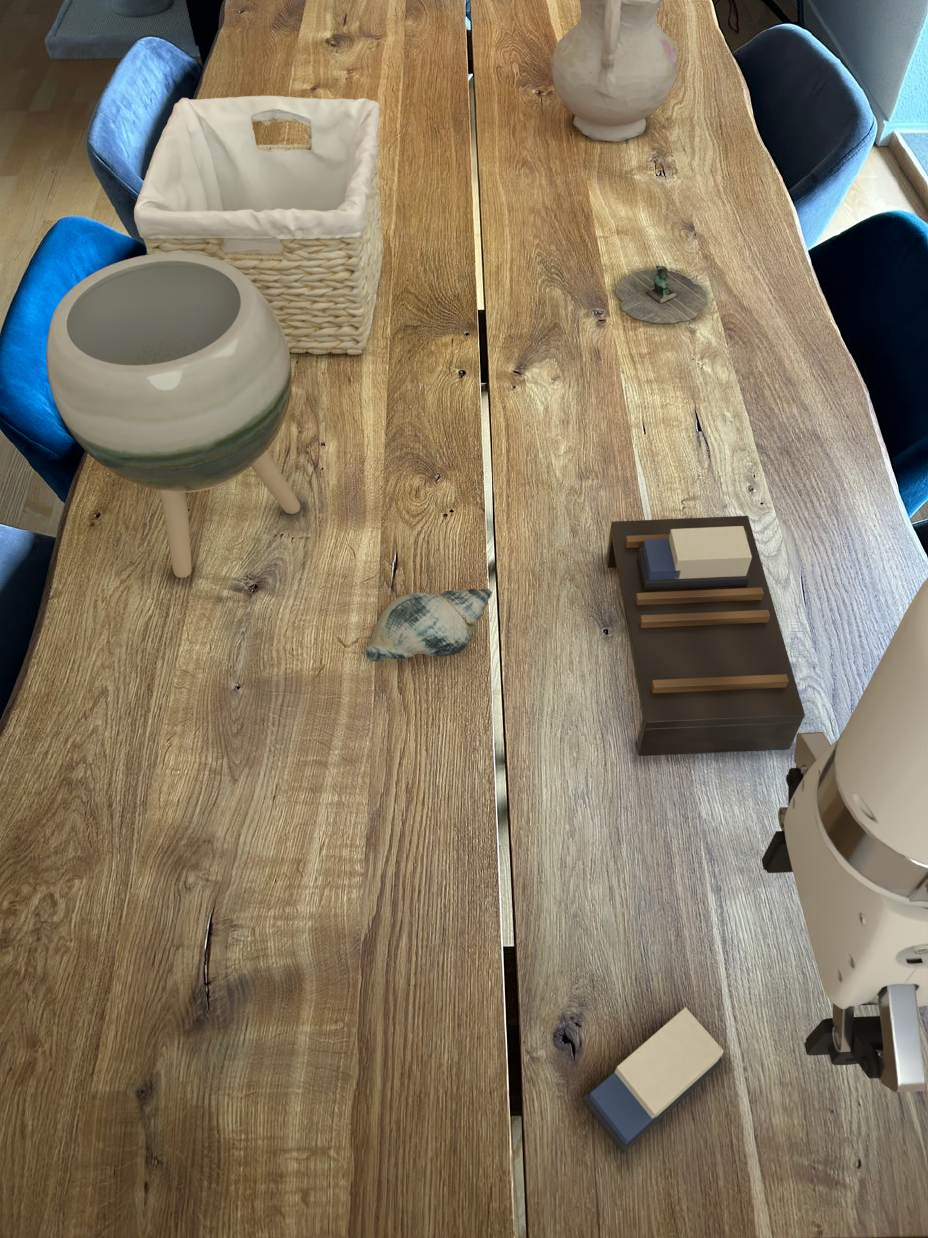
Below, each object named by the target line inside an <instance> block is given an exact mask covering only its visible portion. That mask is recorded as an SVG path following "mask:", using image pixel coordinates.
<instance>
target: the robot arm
mask: <svg viewBox="0 0 928 1238" xmlns="http://www.w3.org/2000/svg"><path fill="white" fill-rule="evenodd" d="M795 738H796V740H795V747H794V755H793V762H794V764H795V767H789V769H788V773H787V774H786V775H785V779H786V780H785V781H786V785H787V806H781V807H779V808H778V812H777V820H778V826H779V828H780V830H775V833H774V835H773V836H772V838H771V840H770V842H769V844H768V846H767V848H766V850H765V852H764V854H763V856H762V858H761V863H762V864H761V865H762V869H763V870H764V871H766V873H767V874H782V873H783V874H784V873H792V874H793V879H794V882H795V886H796V891H797V895H798V898H799V903H800V907H801V910H802V914H803V915H802V916H803V918H804V922H805V926H806V930H807V931H806V932H807V934H808V938H809V943H810V946H811V950H812V953H813V958H814V962H815V965H816V968H817V972H818V976H819V979H820V983H821V985H822V988H823V990H824V993H825V995H826V997H827V998H828V999H829V1001H830V1002H831V1003H832V1016H831V1017H827V1018H824V1019H822V1020H821V1021H820V1022H819V1023H818V1024H817V1026H816V1027H815V1028H814V1029H813V1030H812V1031H811V1032H810V1033H809V1034H808V1036H807V1037H806V1038H805V1042H803V1045H804V1048H805V1054H806V1055H807V1056H829V1059H830V1060H829V1061H830V1064H831V1065H833V1066H853V1065H859V1067H860V1068H861V1070H862V1072H863V1073H864V1074H865V1075H866V1077H867V1078H868V1079H870V1080H871V1079H878V1080H879V1082H880V1084H881V1085H883V1086H885V1087H886V1088H888V1089H889V1090H891V1091H892V1092H893V1093H915V1092H916V1093H917V1092H926V1090H927V1086H928V1085H927V1073H926V1065H925V1057H924V1048H923V1040H922V1032H921V1031H922V1030H921V1021H920V1014H919V1008H922V1007H927V1006H928V577H927V578H926V579H925V580H924V581H923V583H922V584H921V586H920V588H919V589H918V590H917V592H916V594H915V595H914V597H913V598H912V600H911V602H910V603H909V605H908V607H907V609H906V610H905V612H904V614H903V616H902V618H901V620H900V622H899V624H898V626H897V628H896V630H895V632H894V634H893V636H892V638H891V640H890V641H889V643H888V645H887V647H886V649H885V651H884V652H883V655H882V657H881V658H880V661H879V662H878V664H877V666H876V667H875V670H874V672H873V674H872V676H871V677H870V679H869V681H868V683H867V685H866V687H865V689H864V691H863V693H862V695H861V697H860V698H859V700H858V702H857V704H856V706H855V708H854V710H853V711H852V713H851V716H850V717H849V719H848V721H847V723H846V725H845V727H844V729H843V731H842V732H841V733H840V735H839V737H838V738H837V740H836V741H834V742H833V743H832V744H831V742H830V740H829V739H828V738H827V736H826V735H825V733H824V732H823V731H815V732H797V733H796V737H795ZM859 1006H878V1013H879V1015H869V1016H868V1015H867V1016H855V1007H859Z"/></svg>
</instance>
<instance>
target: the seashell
mask: <svg viewBox="0 0 928 1238" xmlns="http://www.w3.org/2000/svg"><path fill="white" fill-rule="evenodd" d="M492 594H493V591H492V590H490V589H489V588H485V589H484V588H482V589H477V588H468V589H466V590H464V589H458V590H456V589H452V590H446V591H443V592H442V593H440V594H437V593H433V592H412V593H407V594H404V595H401V596H399V597H397V598H395V599H394V600H393V601H392V602H391V603H389V604H388V606H387V607H386V608H385V609H384V610H383V612H382V614H381V615H380V617H379V618H378V620H377V622H376V624H375V626H374V628H373V630H372V632H371V637H370V643H369V645H367V647H365V649H364V651H365V656H366V658H367V659H368V660H369V661H371V662H375V663H376V662H380V661H385V660H387V659H388V660H389V659H390V660H405V659H408V658H412V657H414V656H415V655H417V654H420V655H426V656H431V657H438V658H444V657H451V656H454V655H457V654H459V653H460V652H462V651H463V650H464V649H466V647H467V646H468V644H469V643H470V641H471V638H472V636H473V632H474V627H475V624H476V623H478V622H479V621H480V619H481V618H482V617H483V614H484V612H485V608H486V607H487V605H488V603H489V599H490V598H491V596H492Z"/></svg>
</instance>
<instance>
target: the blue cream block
mask: <svg viewBox="0 0 928 1238" xmlns="http://www.w3.org/2000/svg"><path fill="white" fill-rule="evenodd" d="M724 1052H725V1051H724V1049H723V1048H722V1046H720V1044H719V1043H718V1042H717V1041H716V1039H714V1038H713V1036H712V1035H711V1034H710V1033H709V1032H708V1031H707V1030H706V1028H705V1027H704V1026H703V1025H702V1023H701V1022H699V1020H698V1019H697V1018H696V1017H695V1016H694V1015H693V1014H692V1012H691V1011H690V1010H689V1009H688V1008H687V1007H686V1006H685V1007H683V1008H682V1009H681V1010H680V1011H679V1012H678V1013H677V1014H675V1015H674V1016H672V1018H671V1019H669V1020H668V1021H667V1022H666V1023H665V1024H664V1025H662V1027H660V1028H659V1029H658V1030H657V1031H655V1033H653V1034H652V1035H651V1036H650V1037H649V1038H648V1039H646V1041H644V1042H643V1043H642V1044H640V1046H639V1047H637V1048H636V1049H635V1050H634V1051H633V1052H632V1053H630V1055H628V1056H627V1057H626V1058H625V1059H623V1061H621V1062H620V1063H619V1064H618V1065H616V1068H615V1069H614V1070H613V1071H612V1072H610V1073H609V1074H608V1075H607V1076H606V1077H604V1078H603V1079H602V1080H601V1081H600V1082H599V1083H598V1084H597V1085H595V1086H594V1087H593V1088H592V1089H591V1090H590V1091H589V1092H588V1093H586V1094H585V1095H584V1096H583V1098H582V1104H583V1105H585V1107H586V1109H587V1110H588V1111H589V1112H590V1114H591V1115H592V1116H593V1117H594V1118H595V1120H596V1122H597V1123H598V1124H599V1125H600V1127H601V1128H602V1129H603V1130H604V1132H605V1133H606V1134H607V1135H608V1137H609V1138H610V1140H611V1141H612V1142H613V1143H614V1145H615V1146H616V1148H617V1149H618V1150H619V1151H620V1152H621V1154H622V1155H624V1154H625V1153H626V1152H628V1150H630V1149H631V1147H633V1146H634V1145H635V1144H636V1143H637V1142H638V1141H640V1140H641V1138H643V1137H644V1136H645V1135H646V1134H647V1133H649V1131H650V1130H651V1129H652V1128H654V1127H655V1126H656V1125H657V1124H658V1123H659V1122H660V1121H661V1120H662V1119H664V1117H666V1116H667V1115H668V1114H669V1113H670V1112H671V1111H672V1110H674V1108H675V1107H676V1106H678V1105H679V1104H680V1103H681V1102H682V1101H683V1100H684V1099H685V1098H686V1097H687V1096H688V1095H690V1094H691V1093H692V1092H693V1091H694V1090H695V1089H697V1087H698V1086H699V1085H701V1084H702V1083H703V1082H704V1081H705V1080H706V1079H707V1078H708V1077H710V1075H712V1073H714V1072H715V1071H716V1070H717V1069H718V1068H720V1066H722V1063H723V1060H722V1059H721V1057H722V1055H723V1054H724Z"/></svg>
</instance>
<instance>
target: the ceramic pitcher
mask: <svg viewBox="0 0 928 1238" xmlns="http://www.w3.org/2000/svg"><path fill="white" fill-rule="evenodd" d="M661 2H662V0H579V4H580V17H579V20H578V22H577V24H576V25H575V26H574V27H572V28H571V29H570V30H569V31H568V32H567V33H566V34H565V35H563V36H562V37H561V38H560V39H559V41H558V42H557V45H556V46H555V48H554V50H553V54H552V59H551V76H552V81H553V86H554V89H555V92H556V94H557V97H558V99H559V100H560V102H561V104H562V105H563V107H564V108H565V109H566V110H567V111H568V112H570V113H571V114H573V116H574V118H573V120H572V122H571V124H573V126H574V127H576V129H577V130H579V132H580V133H581V134H583V135H585V136H587V137H588V138H589V139H591V140H593V141H605V142H614V143H615V142H617V143H618V142H619V143H620V142H624V141H626V140H628V139H632V138H635V137H638V136H640V135H643V134H644V131H645V129H646V127H647V126H646V125H647V122H646V118H648V117H649V116H651V115H652V114H654V113H655V112H656V111H658V110H659V108H660V107H661V106H662V105H663V104H664V103H665V101H666V100H667V98H668V97H669V95H670V94H671V91H672V89H673V88H674V85H675V82H676V79H677V78H676V77H677V72H678V62H679V61H678V58H679V57H678V56H679V53H678V50H677V48H676V45H675V43H674V41H673V39H672V37H670V36H669V35H668V34H667V33H666V32H664V31H663V30H662V29H661V28H660V27H659V26H658V24H657V16H658V11H659V7H660V5H661Z"/></svg>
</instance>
